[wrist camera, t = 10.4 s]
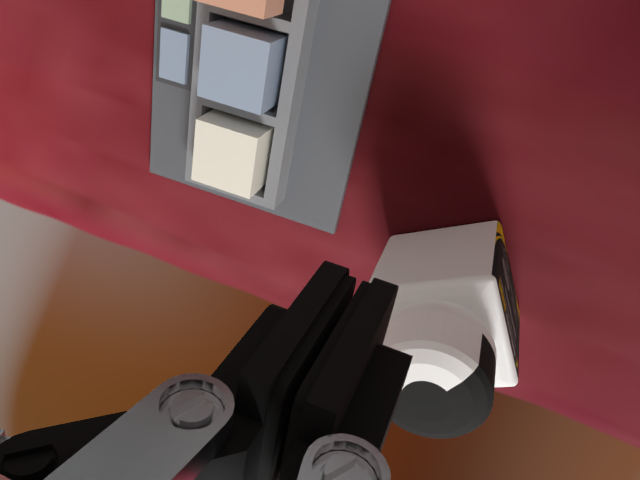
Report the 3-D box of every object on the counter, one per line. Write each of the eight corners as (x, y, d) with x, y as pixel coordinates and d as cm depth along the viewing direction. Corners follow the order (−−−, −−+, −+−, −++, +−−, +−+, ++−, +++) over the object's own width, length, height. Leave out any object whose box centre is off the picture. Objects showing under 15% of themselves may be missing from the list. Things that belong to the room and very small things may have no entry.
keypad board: (450, -243, 25) (442, -260, 23) (336, 230, 38) (325, 247, 36) (171, -291, 27) (142, -311, 25) (154, 169, 40) (134, 181, 38)
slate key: (287, 36, 31) (270, 43, 29) (277, 104, 34) (260, 115, 31) (223, 18, 32) (202, 23, 30) (217, 86, 34) (196, 95, 32)
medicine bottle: (520, 315, 36) (517, 458, 26) (414, 324, 39) (375, 455, 29) (500, 217, 34) (488, 335, 24) (388, 234, 37) (335, 345, 27)
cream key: (274, 126, 34) (257, 138, 32) (265, 184, 36) (249, 199, 34) (215, 108, 35) (195, 119, 33) (210, 165, 37) (191, 179, 35)
